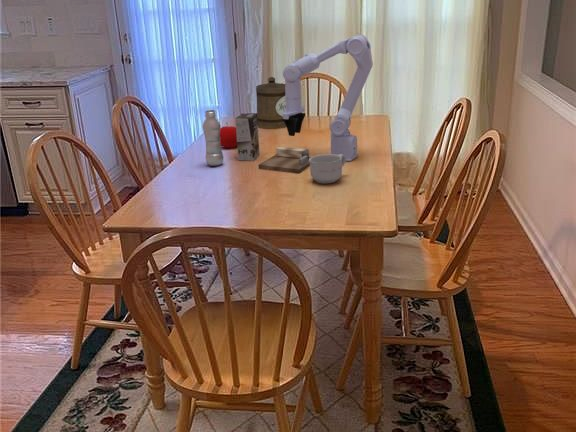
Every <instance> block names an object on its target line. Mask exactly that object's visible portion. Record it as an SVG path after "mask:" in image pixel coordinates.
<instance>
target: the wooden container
mask: <svg viewBox="0 0 576 432" xmlns="http://www.w3.org/2000/svg"><path fill="white" fill-rule="evenodd" d="M267 81H268V82H267V83H262V84H261V83H260V84H258V85H256V87H255V91H256V92H255V94H256V95H255V96H256V113H257V119H258V128H261V129H264V130H266V129H267V130H276V129H277V130H278V129H283V128H284V129H285V128H287V127H286V125H285V123H284V121H283V119H282V117H283V113H284V111H283V110H284V109H286V95H285V83H282V82H281V83H278V82H276V78H275V77H274V76H269V77H268V78H267Z"/></svg>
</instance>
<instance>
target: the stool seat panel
mask: <svg viewBox="0 0 576 432" xmlns="http://www.w3.org/2000/svg"><path fill="white" fill-rule="evenodd" d="M311 157H312V156H309V158H308V156H303V157H302V158H292V157H283V156H276V154H274V155H273V156H271V157H269V158H268V159H266V160H264V161H262V162H260V163H259V164H258V169H259V170H266V171H275V172H282V173H283V172H284V173H292V174H301V173H302V172H304V171H305V170H307V168H310V162H309V159H310V158H311Z"/></svg>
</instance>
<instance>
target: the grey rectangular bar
mask: <svg viewBox="0 0 576 432" xmlns="http://www.w3.org/2000/svg"><path fill="white" fill-rule="evenodd" d="M275 155H276V156H283V157H292V158H302V157H303V156H308V158H309V157H310V150H309V149H307V148H297V147H286V146H278V147H277V148H275Z"/></svg>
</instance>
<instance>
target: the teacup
mask: <svg viewBox="0 0 576 432" xmlns="http://www.w3.org/2000/svg"><path fill="white" fill-rule="evenodd" d="M310 157H311V158H310V159H309V162H310V166H309V171H310V176H311V178H312V179H313V180H314V181H316V183H319V184H332V183H335V182H337V181H338V180H339V178H341V176H342V174H343V173H342V172H343V167H344V166H345V164H346V162H347V161H346V157H345V156H344V155H343V154H339V155H335V154H331V153H330V154H329V153H326V154H325V153H324V154H318V155H314V156H310Z"/></svg>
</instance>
